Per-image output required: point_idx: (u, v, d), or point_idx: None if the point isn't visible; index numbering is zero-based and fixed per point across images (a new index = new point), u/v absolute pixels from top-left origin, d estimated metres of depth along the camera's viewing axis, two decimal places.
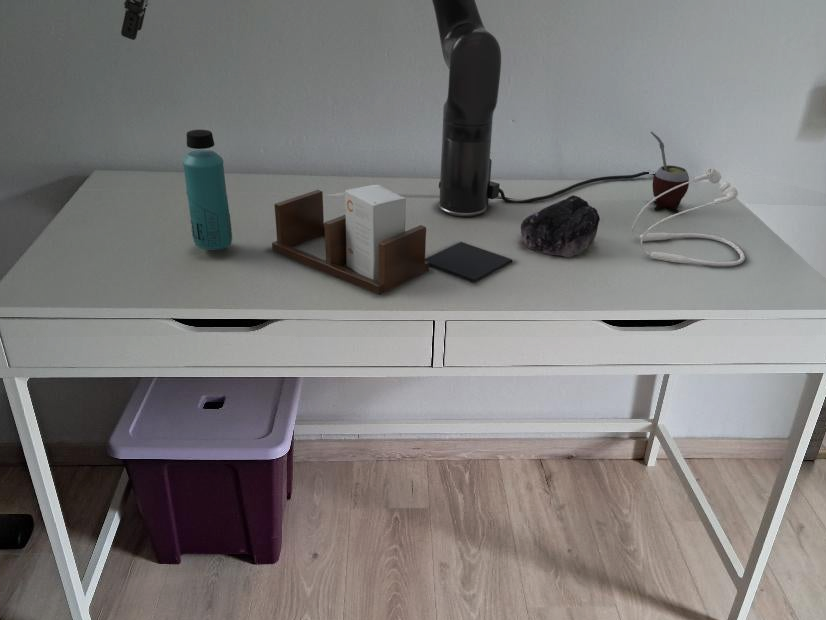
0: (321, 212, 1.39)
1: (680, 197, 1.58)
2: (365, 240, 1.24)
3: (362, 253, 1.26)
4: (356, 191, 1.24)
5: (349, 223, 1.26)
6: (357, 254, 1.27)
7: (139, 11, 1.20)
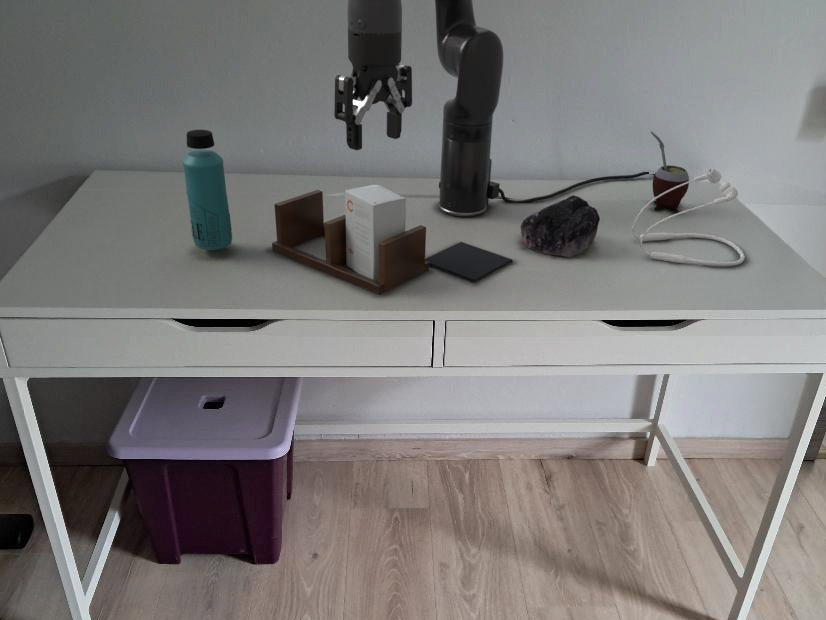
0: (321, 212, 1.39)
1: (680, 197, 1.58)
2: (365, 240, 1.24)
3: (362, 253, 1.26)
4: (357, 191, 1.24)
5: (349, 223, 1.26)
6: (357, 254, 1.27)
7: None
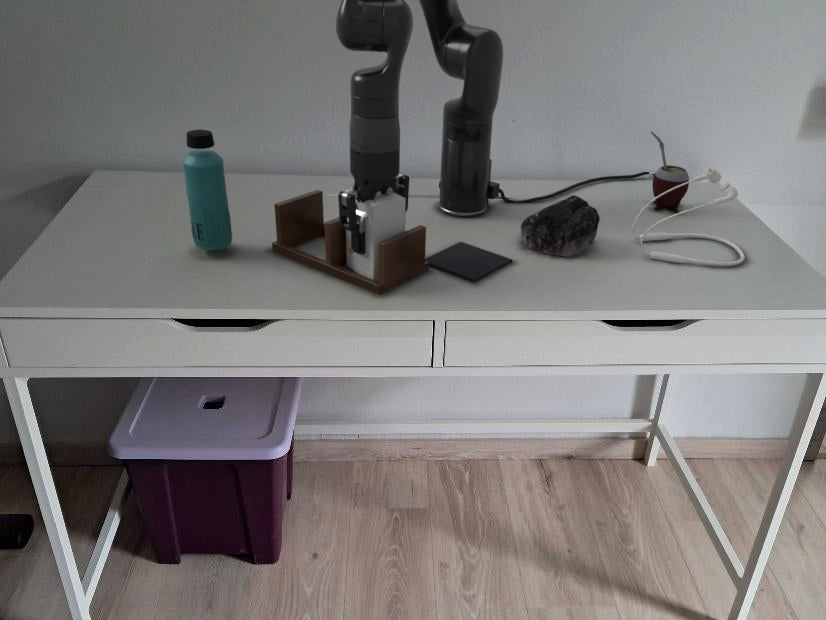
0: (321, 212, 1.39)
1: (680, 197, 1.58)
2: (365, 240, 1.24)
3: None
4: None
5: None
6: (357, 254, 1.27)
7: None
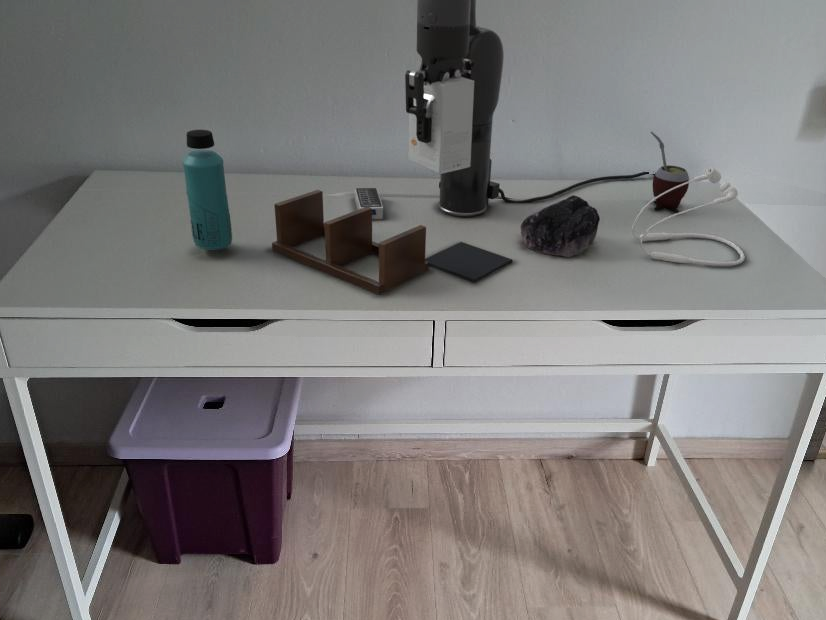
0: (321, 212, 1.39)
1: (680, 197, 1.58)
2: (432, 126, 1.17)
3: None
4: None
5: None
6: (422, 145, 1.21)
7: None
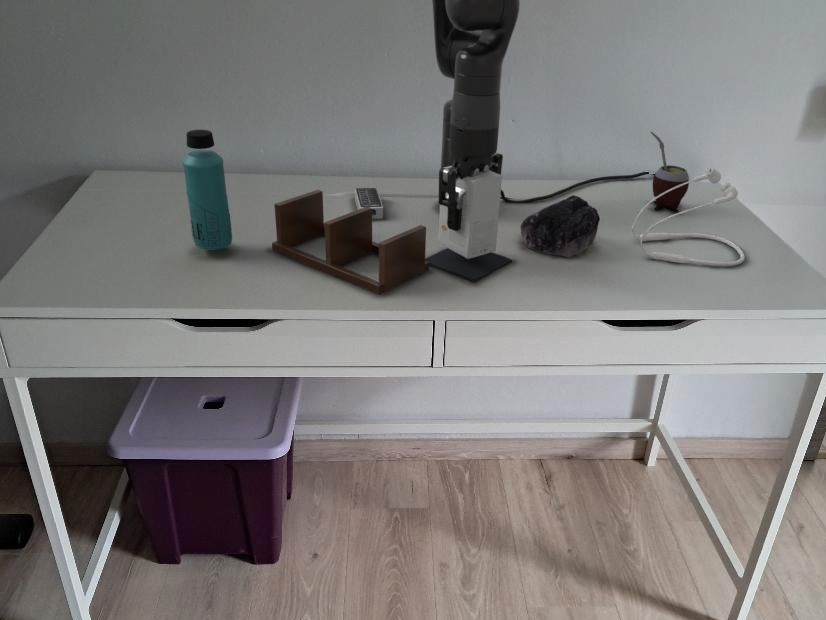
0: (321, 212, 1.39)
1: (680, 197, 1.58)
2: (462, 216, 1.27)
3: None
4: None
5: None
6: (451, 231, 1.30)
7: None
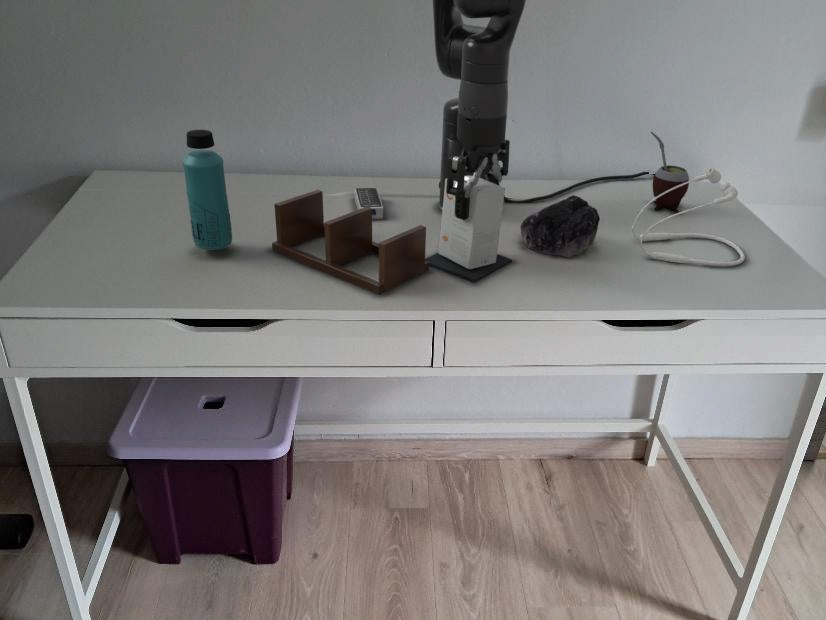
0: (321, 212, 1.39)
1: (680, 197, 1.58)
2: (464, 227, 1.28)
3: (459, 240, 1.30)
4: None
5: (447, 211, 1.30)
6: (453, 241, 1.31)
7: None
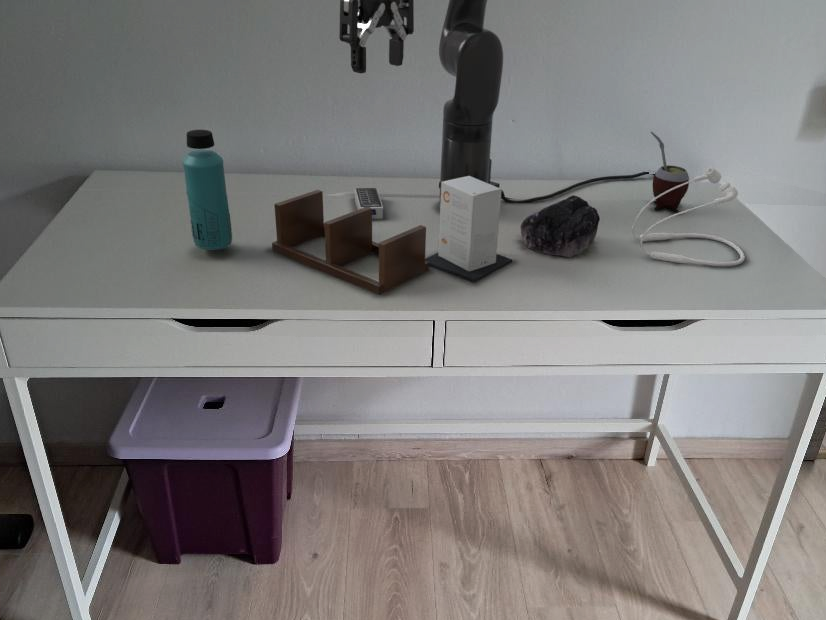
0: (321, 212, 1.39)
1: (680, 197, 1.58)
2: (462, 230, 1.28)
3: (457, 242, 1.30)
4: (453, 182, 1.28)
5: (444, 214, 1.30)
6: (452, 244, 1.31)
7: None
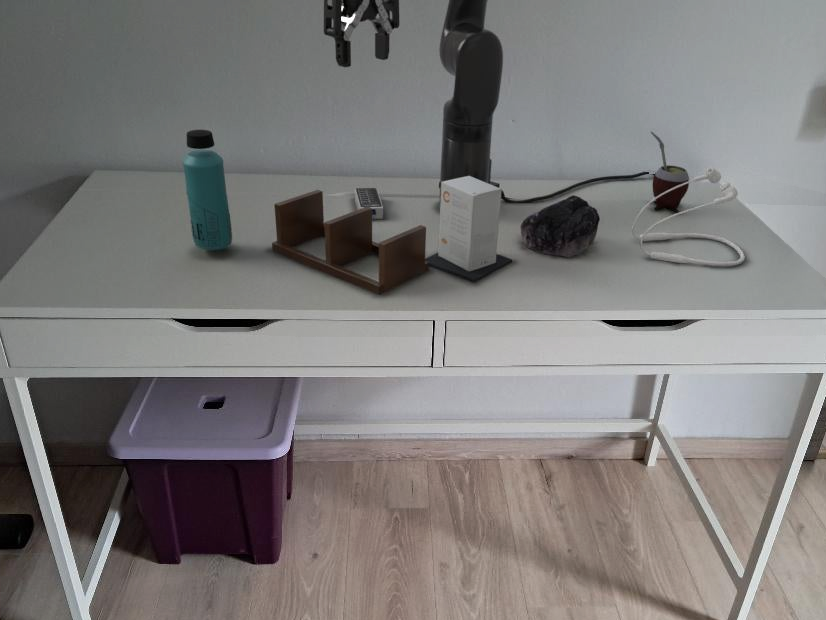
0: (321, 212, 1.39)
1: (680, 197, 1.58)
2: (462, 230, 1.28)
3: (457, 242, 1.30)
4: (453, 182, 1.28)
5: (444, 214, 1.30)
6: (452, 244, 1.31)
7: None
